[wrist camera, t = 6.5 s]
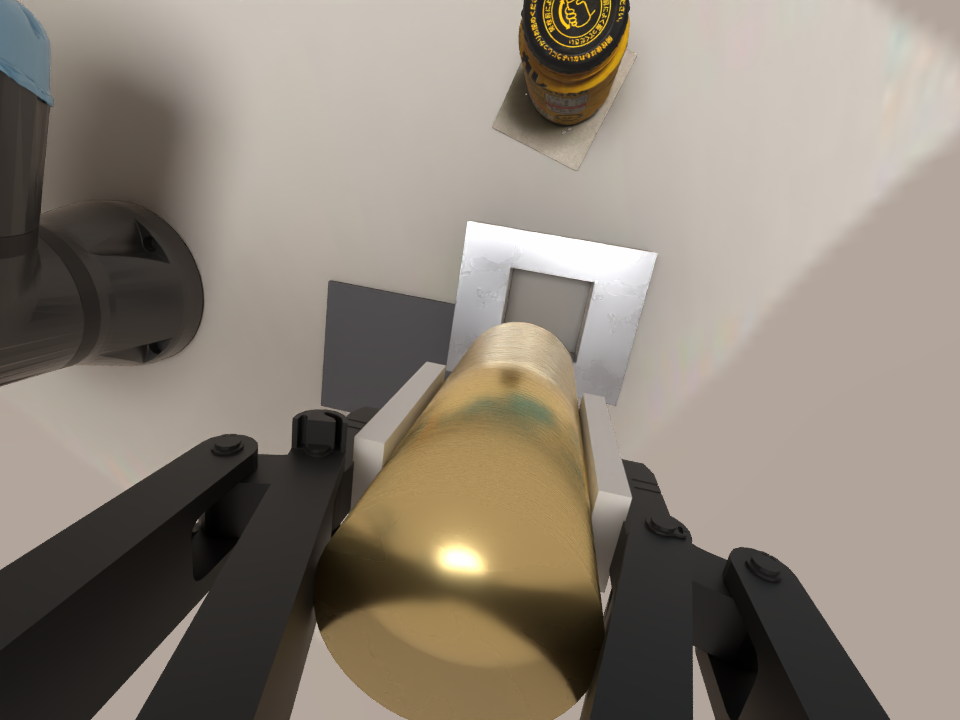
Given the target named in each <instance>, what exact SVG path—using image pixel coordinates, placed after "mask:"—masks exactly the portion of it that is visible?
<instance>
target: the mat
mask: <svg viewBox="0 0 960 720" xmlns="http://www.w3.org/2000/svg"><path fill="white" fill-rule="evenodd" d="M454 311H455V304H451V303H446V302H441V301H435V300H430V299H425V298H420V297H415V296H409V295H404V294H399V293H394V292H389V291H383V290H378V289H373V288H368V287H363V286H357V285H352V284H347V283H342V282H337V281H331V280H330V281H329V283H328V299H327V315H326V331H325V347H324V363H323V379H322V396H321V406H325V407H330V408H334V409H338V410H343V411H347V412H352V411H354V410H357V409H359V408H362V407H365V406H367V407H372V408H377V409H382V408H383V407H384V406H385V404H386V403H387V402H388V401H389V400H390V399H391V398H392V397H393V396H394V395H395V394H396V393H397V392H398V391H399V390H400V389H401V388H402V387H403V386H404V385H405V384H406V383H407V382H408V381H409V379H410V378H411V377H412V376H413V375H414V374H415V373H416V372H417V371H418V370H419V369H420V368H421V367H422V366H423V365H424V364H425V363H426V362H431V363H436V364H441V365H446V366H447V359H448V352H449V345H450V338H451V332H452V325H453V318H454ZM450 374H451V371H446V369H445V377H444V382H445V381H446V379H447V378H448V376H449V375H450Z"/></svg>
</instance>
